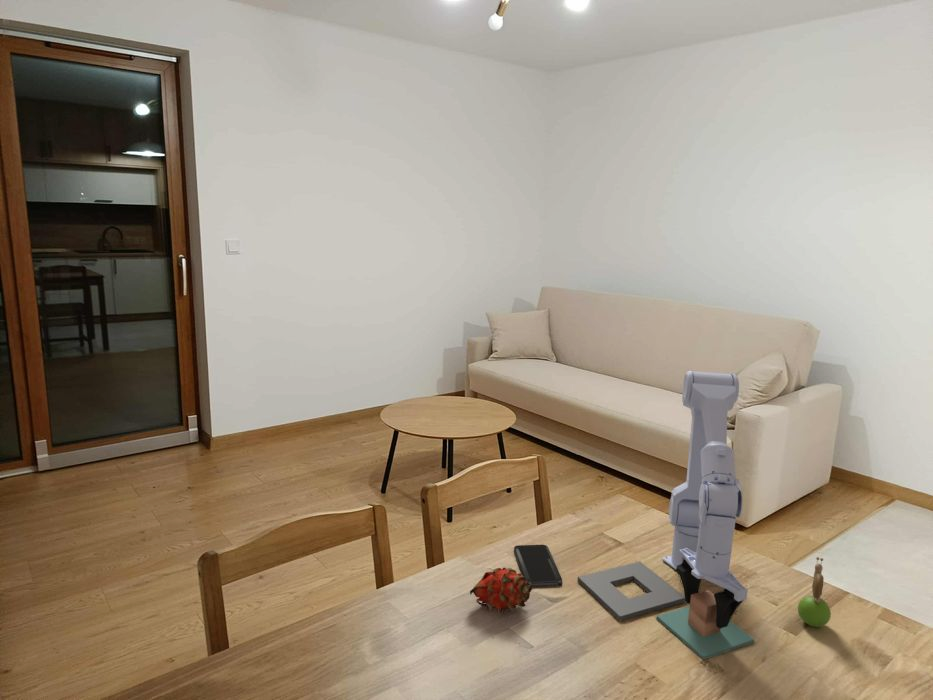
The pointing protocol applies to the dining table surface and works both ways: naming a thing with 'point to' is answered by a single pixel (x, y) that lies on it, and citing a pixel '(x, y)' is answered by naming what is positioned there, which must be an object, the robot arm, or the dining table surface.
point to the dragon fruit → (502, 590)
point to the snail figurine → (815, 602)
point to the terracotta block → (703, 613)
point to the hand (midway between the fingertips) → (706, 613)
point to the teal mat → (708, 644)
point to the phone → (537, 565)
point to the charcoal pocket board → (626, 607)
